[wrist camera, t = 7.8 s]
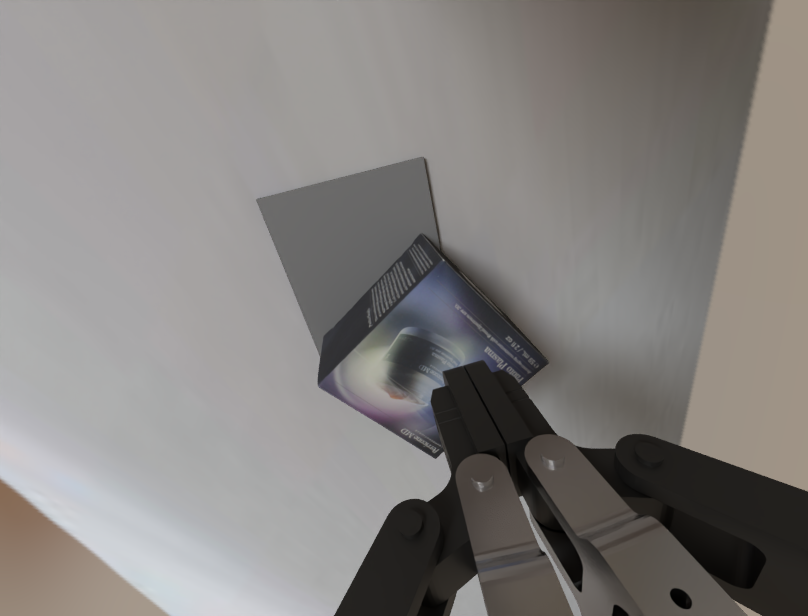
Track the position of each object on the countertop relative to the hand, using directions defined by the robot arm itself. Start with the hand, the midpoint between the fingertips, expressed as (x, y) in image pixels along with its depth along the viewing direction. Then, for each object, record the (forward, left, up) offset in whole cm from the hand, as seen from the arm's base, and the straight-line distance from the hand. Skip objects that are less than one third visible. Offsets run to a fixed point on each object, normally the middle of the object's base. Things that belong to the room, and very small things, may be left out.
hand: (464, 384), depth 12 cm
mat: (0, -3, -13) cm, 14 cm away
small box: (+2, +5, -10) cm, 11 cm away
